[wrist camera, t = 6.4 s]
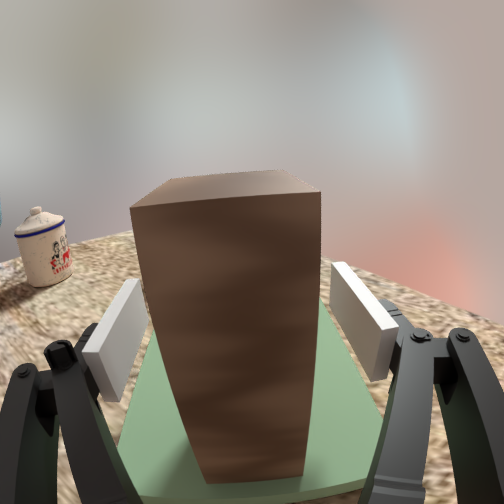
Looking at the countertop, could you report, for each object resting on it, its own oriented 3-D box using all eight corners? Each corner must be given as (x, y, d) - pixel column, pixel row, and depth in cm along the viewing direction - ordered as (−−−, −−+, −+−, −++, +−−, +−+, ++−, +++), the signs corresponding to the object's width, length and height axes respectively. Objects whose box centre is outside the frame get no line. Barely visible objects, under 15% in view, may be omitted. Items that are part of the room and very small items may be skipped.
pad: (116, 500, 12) (78, 457, 10) (169, 303, 34) (161, 262, 33) (397, 477, 13) (425, 429, 11) (310, 291, 35) (310, 250, 33)
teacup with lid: (65, 286, 40) (46, 209, 36) (19, 291, 38) (0, 219, 34) (87, 257, 51) (74, 194, 47) (46, 263, 49) (33, 203, 45)
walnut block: (206, 483, 13) (129, 207, 8) (208, 405, 18) (170, 178, 13) (302, 475, 13) (320, 191, 8) (286, 399, 18) (283, 169, 14)
